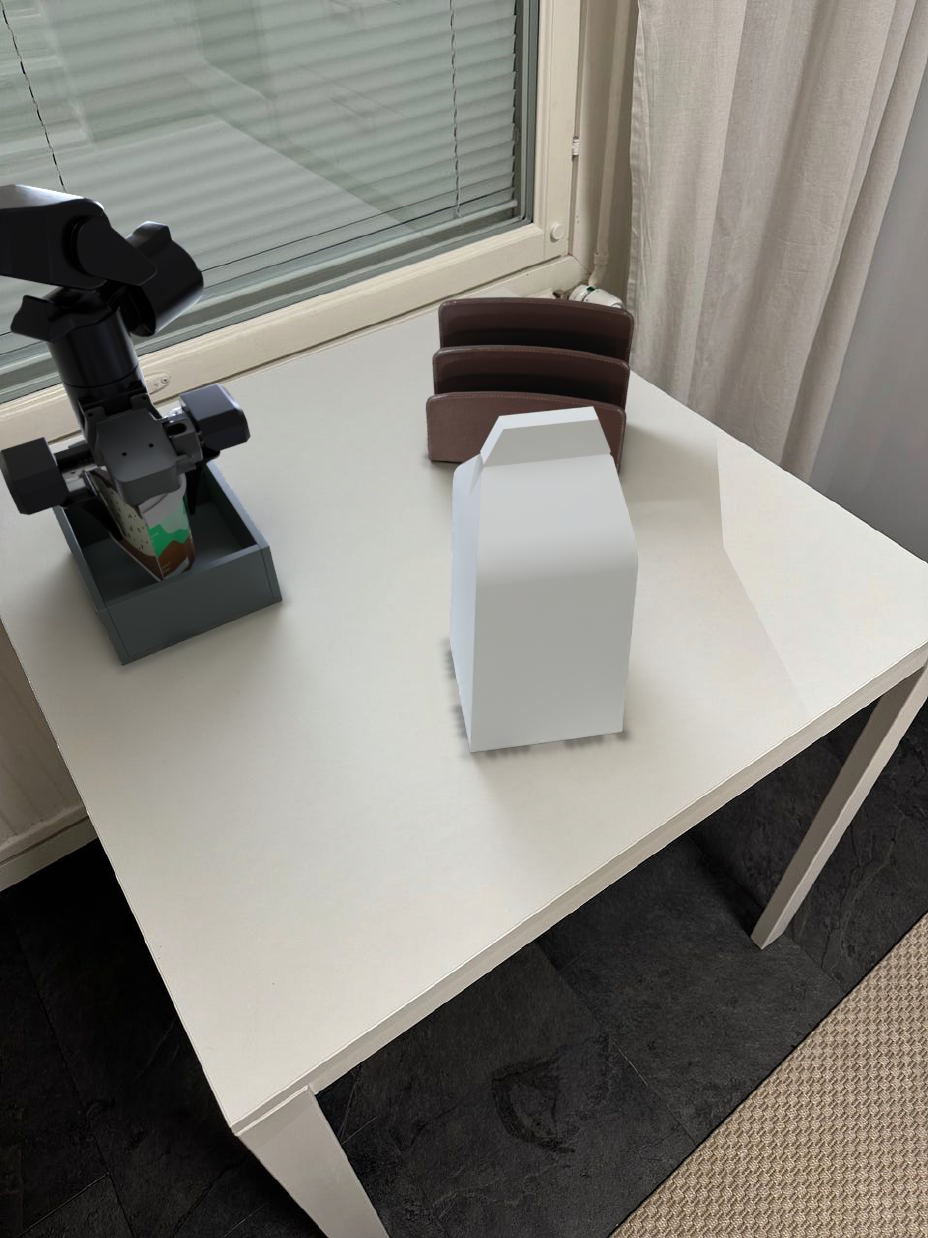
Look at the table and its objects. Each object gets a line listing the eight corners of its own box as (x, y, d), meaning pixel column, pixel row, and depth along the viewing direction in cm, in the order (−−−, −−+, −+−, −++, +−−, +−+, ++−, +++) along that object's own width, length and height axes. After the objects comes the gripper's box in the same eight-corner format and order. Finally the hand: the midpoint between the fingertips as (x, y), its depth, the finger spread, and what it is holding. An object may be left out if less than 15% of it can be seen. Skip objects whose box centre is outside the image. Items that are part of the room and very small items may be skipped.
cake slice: (237, 562, 78) (209, 471, 71) (177, 599, 76) (142, 509, 68) (162, 500, 84) (129, 411, 77) (104, 532, 82) (64, 443, 74)
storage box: (122, 665, 75) (96, 612, 70) (72, 550, 85) (47, 497, 80) (282, 600, 80) (269, 545, 75) (218, 498, 90) (203, 444, 85)
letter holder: (443, 407, 100) (437, 287, 89) (621, 419, 97) (638, 298, 87) (427, 462, 93) (420, 340, 83) (619, 477, 91) (636, 353, 80)
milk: (470, 752, 69) (464, 488, 49) (449, 641, 76) (437, 375, 57) (621, 732, 70) (674, 465, 50) (586, 624, 77) (620, 357, 58)
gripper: (-10, 464, 58) (71, 624, 70) (257, 380, 65) (291, 540, 76) (-40, 384, 65) (38, 542, 76) (205, 315, 71) (243, 471, 83)
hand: (155, 525), depth 78 cm, fingers closed on cake slice, 6 cm apart
